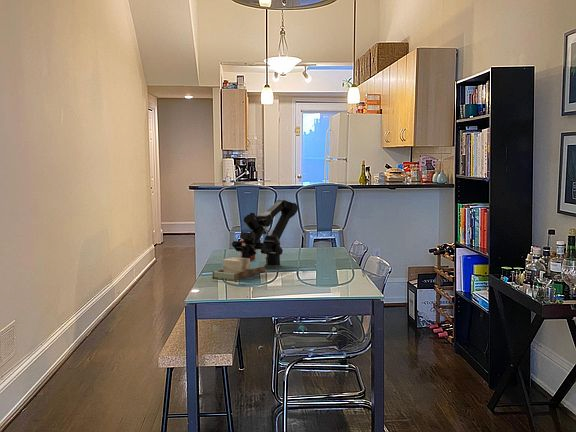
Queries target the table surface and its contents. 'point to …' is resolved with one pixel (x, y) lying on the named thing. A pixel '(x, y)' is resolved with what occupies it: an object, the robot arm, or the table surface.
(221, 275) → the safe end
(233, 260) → the birch block
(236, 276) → the channel
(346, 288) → the table surface
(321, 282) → the table surface
